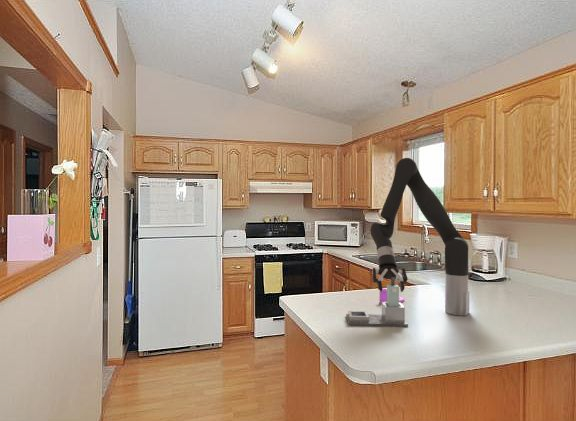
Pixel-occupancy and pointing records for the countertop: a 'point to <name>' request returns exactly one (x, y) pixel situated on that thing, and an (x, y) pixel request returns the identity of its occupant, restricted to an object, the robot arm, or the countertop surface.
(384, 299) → the bracket
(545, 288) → the countertop surface
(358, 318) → the dark gray base plate
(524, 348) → the countertop surface
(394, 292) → the grey bottle
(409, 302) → the countertop surface
